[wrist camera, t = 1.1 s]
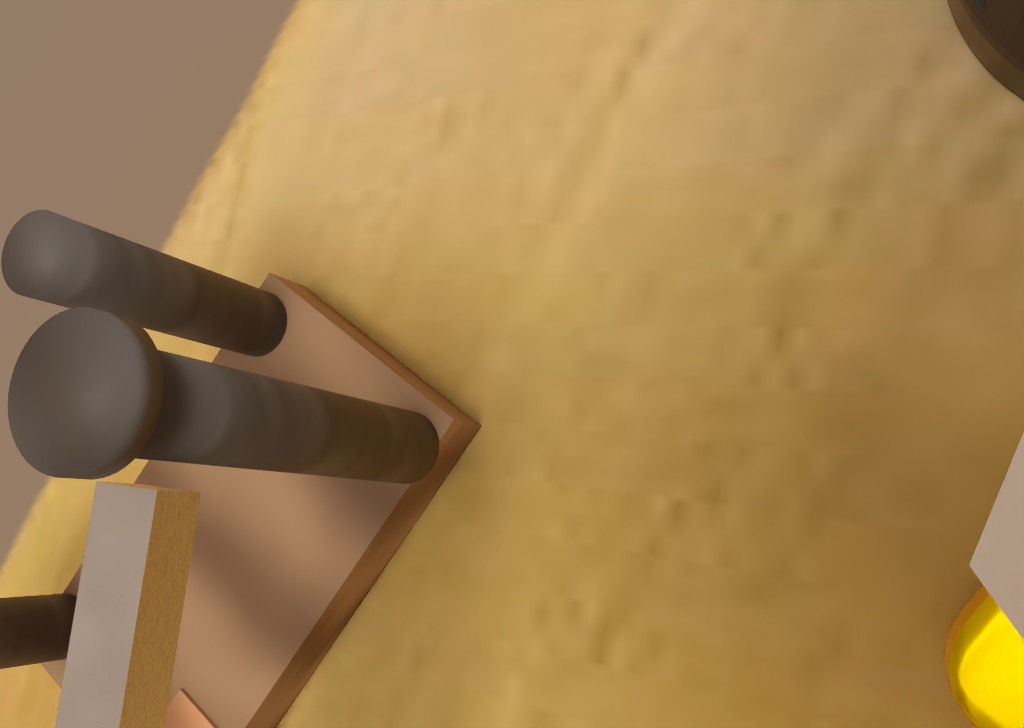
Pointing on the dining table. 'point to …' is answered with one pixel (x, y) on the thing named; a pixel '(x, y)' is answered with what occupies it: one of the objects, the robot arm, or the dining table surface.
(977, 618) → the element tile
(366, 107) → the dining table surface
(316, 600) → the wooden base with rods
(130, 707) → the hinged leg
